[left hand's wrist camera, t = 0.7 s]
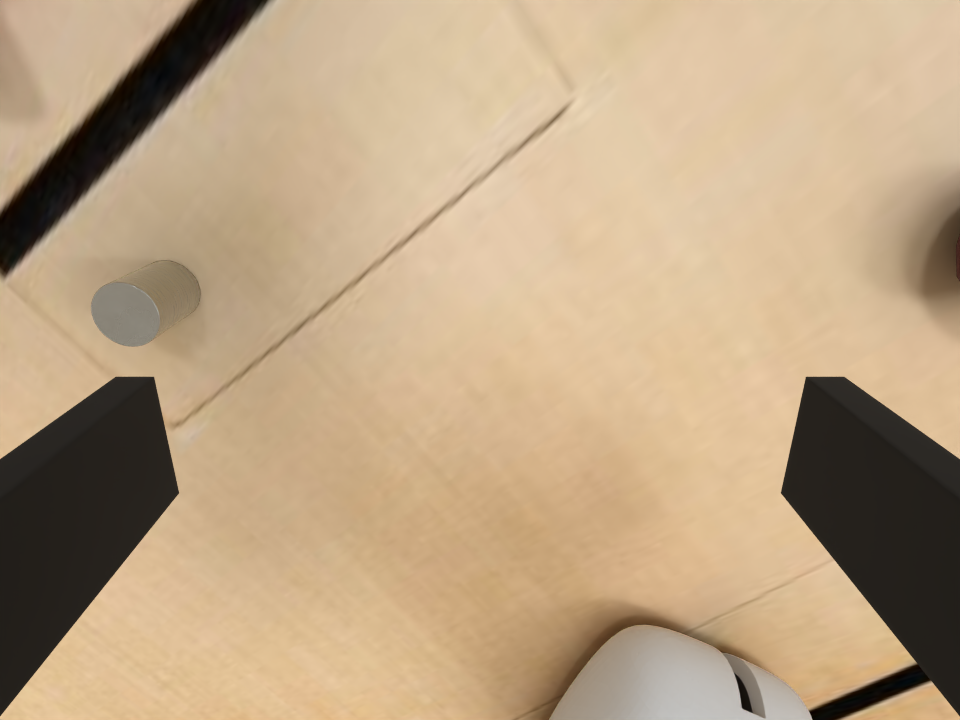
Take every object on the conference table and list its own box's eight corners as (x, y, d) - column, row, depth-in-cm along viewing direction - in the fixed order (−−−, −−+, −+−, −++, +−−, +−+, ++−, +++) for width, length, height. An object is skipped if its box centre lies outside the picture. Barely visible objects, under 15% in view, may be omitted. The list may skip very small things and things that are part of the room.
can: (127, 278, 36) (76, 302, 31) (174, 249, 35) (128, 270, 31) (167, 327, 37) (122, 357, 32) (212, 300, 36) (173, 327, 32)
